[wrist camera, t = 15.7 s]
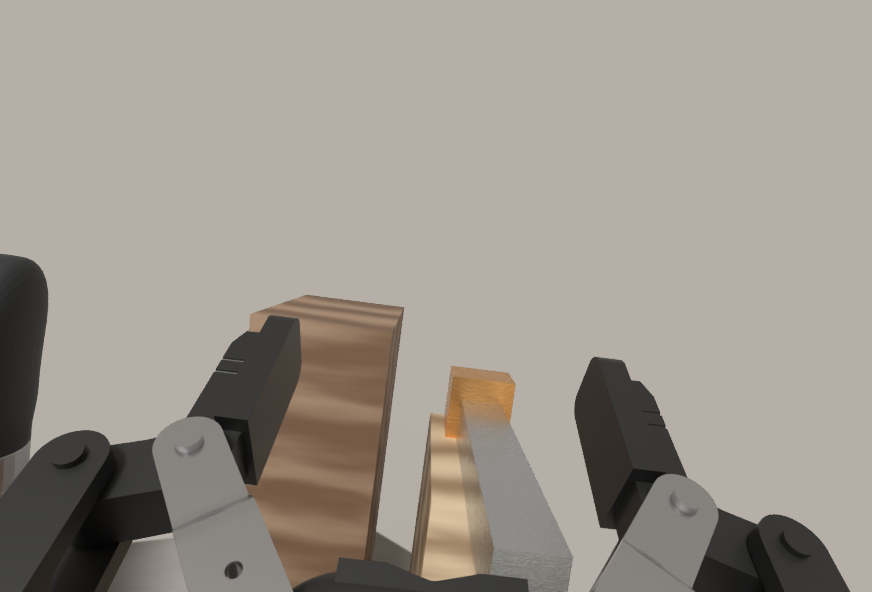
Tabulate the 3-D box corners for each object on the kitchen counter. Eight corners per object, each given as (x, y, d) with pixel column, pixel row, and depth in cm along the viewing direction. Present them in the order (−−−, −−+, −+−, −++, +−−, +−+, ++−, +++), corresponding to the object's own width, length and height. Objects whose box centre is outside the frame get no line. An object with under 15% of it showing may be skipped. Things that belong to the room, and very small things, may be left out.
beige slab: (505, 823, 34) (554, 517, 32) (389, 811, 34) (431, 502, 32) (479, 626, 52) (509, 422, 50) (403, 618, 52) (430, 413, 50)
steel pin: (583, 634, 22) (602, 516, 22) (460, 620, 22) (477, 501, 22) (500, 428, 48) (508, 372, 48) (443, 421, 48) (451, 365, 47)
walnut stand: (340, 746, 38) (392, 332, 35) (208, 732, 38) (250, 314, 35) (367, 600, 54) (403, 307, 51) (274, 589, 53) (306, 294, 51)
